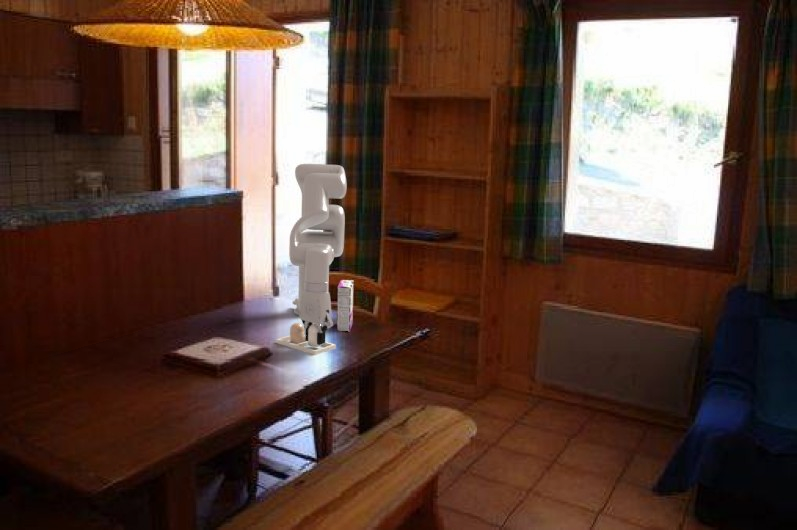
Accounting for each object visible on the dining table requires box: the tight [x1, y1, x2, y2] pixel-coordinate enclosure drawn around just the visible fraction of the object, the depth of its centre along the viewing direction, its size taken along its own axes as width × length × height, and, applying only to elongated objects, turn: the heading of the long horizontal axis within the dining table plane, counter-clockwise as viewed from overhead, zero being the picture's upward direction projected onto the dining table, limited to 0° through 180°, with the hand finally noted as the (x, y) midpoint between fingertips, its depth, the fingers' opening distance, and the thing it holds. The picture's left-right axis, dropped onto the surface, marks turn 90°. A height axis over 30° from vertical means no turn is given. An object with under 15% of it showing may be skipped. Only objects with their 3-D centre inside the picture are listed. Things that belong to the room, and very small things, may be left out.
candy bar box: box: [336, 279, 354, 333], centre depth 257 cm, size 11×5×16 cm, turn 179°
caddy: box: [275, 334, 337, 356], centre depth 234 cm, size 18×10×2 cm, turn 52°
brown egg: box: [289, 322, 305, 344], centre depth 235 cm, size 5×5×7 cm
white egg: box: [308, 323, 323, 348], centre depth 230 cm, size 5×5×7 cm
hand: (315, 341), depth 231 cm, fingers closed on white egg, 4 cm apart
